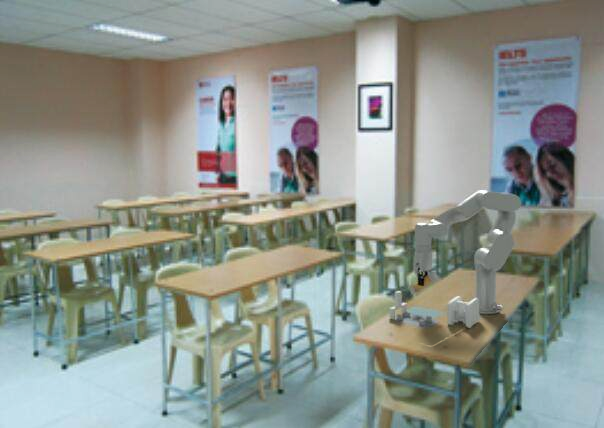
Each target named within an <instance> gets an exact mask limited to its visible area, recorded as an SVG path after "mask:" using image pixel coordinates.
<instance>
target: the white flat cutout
mask: <svg viewBox="0 0 604 428" xmlns="http://www.w3.org/2000/svg"><path fill="white" fill-rule="evenodd" d="M402 293H403V292H402V291H400V290H396V291H394V306H391V307H389V319H395V317H396V311H397V310H399V309H401V314H403V313H404V314H405V311H407V309H408V303H407V302H403V295H402Z"/></svg>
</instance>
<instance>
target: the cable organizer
mask: <svg viewBox="0 0 604 428" xmlns="http://www.w3.org/2000/svg"><path fill="white" fill-rule="evenodd" d="M462 297H463V296H461V295H457V296H455V297H454V298H452V299H451V300H449V301H448V302H447V303H446V305H445V307H446V323H447V324H446V325H448V326H453V325H455V324H456V325H457V324H459V323H458V322H463V324H462V325H465V327H466V328H468V329H471V328H472V327H473V326H474V325H475V324H477V323H478V322H479V319H480V313H479V299H478V298H476V297H474V298H473V299H471V300H470V301H463V298H462Z"/></svg>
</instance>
